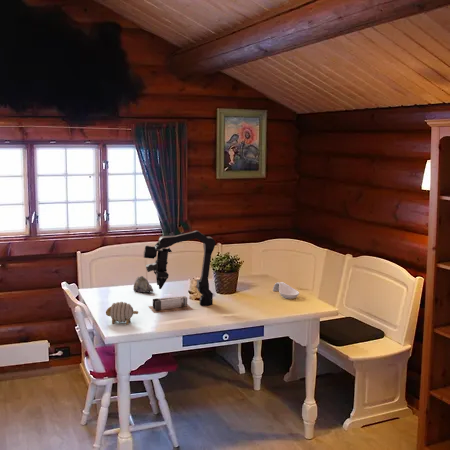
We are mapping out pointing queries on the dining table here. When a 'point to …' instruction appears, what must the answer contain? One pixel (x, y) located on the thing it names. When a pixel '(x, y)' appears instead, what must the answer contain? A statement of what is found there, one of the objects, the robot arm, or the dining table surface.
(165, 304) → the tongs arm
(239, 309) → the dining table surface
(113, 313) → the toy sheep
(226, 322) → the dining table surface
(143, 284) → the mineral rock
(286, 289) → the spoon rest
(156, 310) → the board
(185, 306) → the frame
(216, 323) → the dining table surface
